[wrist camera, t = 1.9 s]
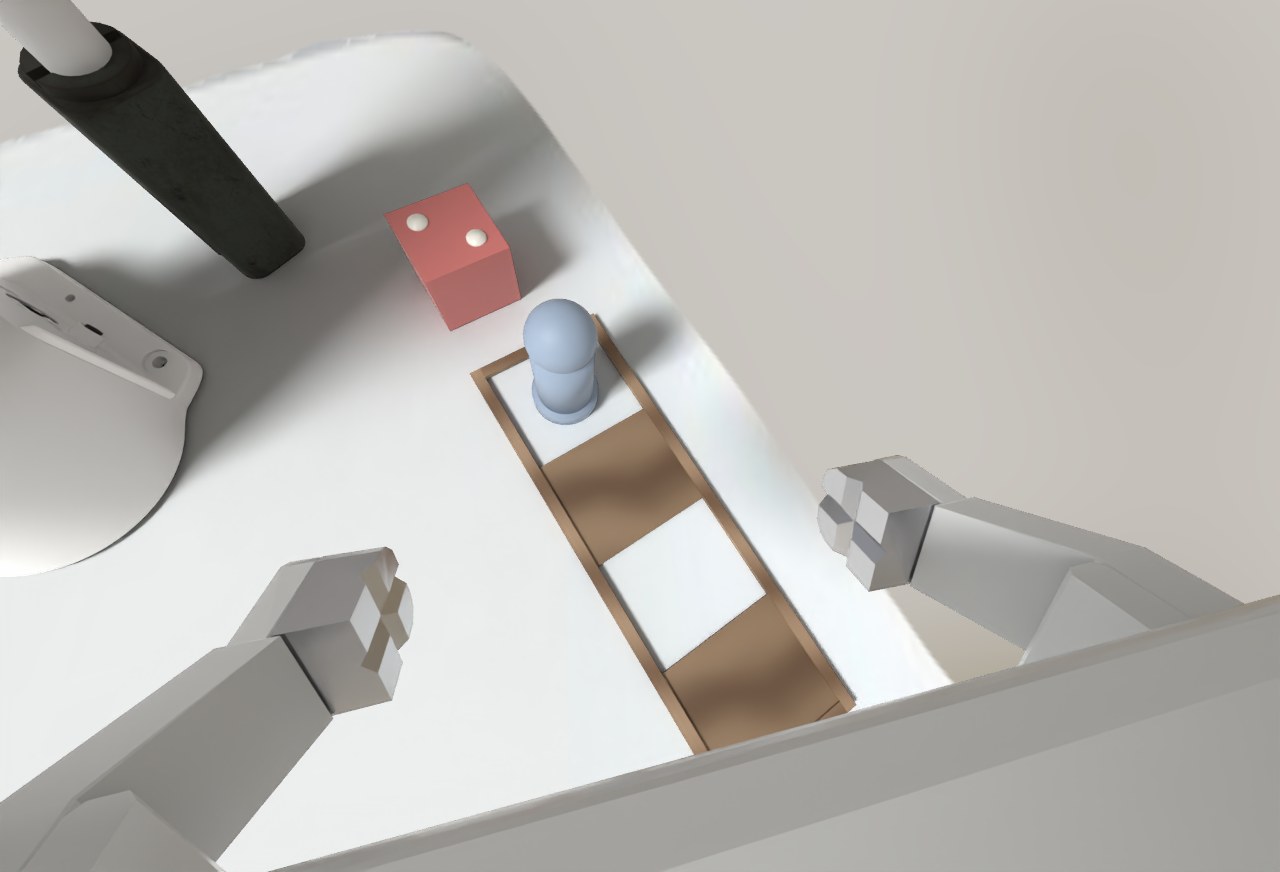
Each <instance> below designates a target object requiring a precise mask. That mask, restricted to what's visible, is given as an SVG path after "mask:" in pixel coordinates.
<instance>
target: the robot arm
mask: <svg viewBox="0 0 1280 872" xmlns="http://www.w3.org/2000/svg"><path fill="white" fill-rule="evenodd" d="M165 362H167V363H166V365H165V366H163V367H162V365H163V364H164V363H165ZM202 375H203V371H202V368H201V366H200V365H199V364H198V363H197V362H196V361H195V360H193V359H192V358H190V357H189V356H187V355H186V354H184V353H183V352H181V351H180V350H178V349H177V348H175V347H174V346H172V345H171V344H169V343H168V342H166V341H165V340H163V339H162V338H160V337H159V336H157V335H156V334H154V333H153V332H152V331H150V330H149V329H147V328H146V327H144V326H143V325H141V324H140V323H138V322H137V321H135V320H134V319H132V318H131V317H129V316H128V315H126V314H125V313H123V312H122V311H120V310H119V309H117V308H116V307H114V306H113V305H111V304H110V303H108V302H107V301H105V300H104V299H102V298H101V297H99V296H98V295H96V294H95V293H93V292H92V291H90V290H89V289H87V288H86V287H84V286H83V285H82V284H80V283H79V282H77V281H76V280H74V279H73V278H71V277H70V276H68V275H67V274H65V273H64V272H62V271H61V270H59V269H57V268H56V267H54V266H52V265H50V264H48V263H46V262H44V261H42V260H40V259H38V258H35V257H31V256H26V257H15V258H7V259H1V260H0V577H14V576H26V575H33V574H39V573H43V572H48V571H52V570H55V569H59V568H62V567H65V566H68V565H70V564H73V563H75V562H78V561H80V560H83V559H85V558H87V557H89V556H91V555H93V554H95V553H97V552H98V551H100V550H102V549H104V548H105V547H107V546H109V545H110V544H112V543H113V542H115V541H116V540H118V539H119V538H121V537H122V536H123V535H124V534H126V533H127V532H128V531H130V530H131V529H132V528H133V527H134V526H135V525H137V524H138V523H139V522H140V521H141V520H142V519H143V518H144V517H145V516H146V515H147V514H148V513H149V512H150V510H151V509H152V508H153V507H154V506H155V505H156V503H157V502H158V501H159V499H160V498H161V497H162V495H163V494H164V492H165V491H166V489H167V488H168V486H169V484H170V482H171V481H172V479H173V477H174V475H175V472H176V470H177V468H178V465H179V462H180V459H181V455H182V451H183V447H184V439H185V418H186V412H187V408H188V406H189V404H190V403H191V401H192V399H193V397H194V395H195V393H196V391H197V389H198V387H199V385H200V382H201V380H202ZM822 488H823V489H824V491H825V492H826V493H827V496H826V497H825V498H824V499H823V501H822V502H821V503H820V504H819V509H818V517H817V519H818V524H819V528H820V532H821V534H822V536H823V538H824V540H825V542H826V543H827V544H828V545H829V547H830V548H831V549H832V550H833V551H835V552H837V553H840V554H842V555H844V556H846V557H847V564H846V566H847V568H848V569H849V570H850V571H851V572H852V573H853V574H854V576H855V577H856V578H857V579H858V580H859V581H860V582H861V584H862V585H863V586H864V587H865V588H866V589H867V590H868V592H870V591H875V590H880V589H885V588H889V587H895V586H900V585H905V584H910V583H911V584H910V586H911V587H913V588H915V589H917V590H918V591H920V592H922V593H924V594H925V595H927V596H929V597H931V598H933V599H934V600H936V601H938V602H940V603H942V604H943V605H945V606H947V607H949V608H950V609H952V610H954V611H956V612H958V613H959V614H961V615H963V616H965V617H967V618H968V619H970V620H972V621H974V622H975V623H977V624H979V625H981V626H983V627H984V628H986V629H988V630H990V631H992V632H993V633H995V634H997V635H999V636H1000V637H1002V638H1004V639H1006V640H1008V641H1010V642H1011V643H1013V644H1015V645H1017V646H1018V647H1020V648H1022V649H1024V650H1025V651H1026V652H1025V654H1024V656H1023V657H1022V659H1021V661H1020V663H1019V665H1018V666H1017V667H1013V668H1010V669H1006V670H1002V671H999V672H995V673H991V674H988V675H984V676H980V677H977V678H973V679H970V680H966V681H962V682H959V683H955V684H951V685H947V686H944V687H940V688H936V689H933V690H929V691H926V692H922V693H918V694H915V695H911V696H907V697H904V698H900V699H896V700H893V701H889V702H885V703H882V704H878V705H874V706H871V707H867V708H864V709H860V710H856V711H853V712H849V713H845V714H842V715H838V716H834V717H831V718H827V719H823V720H820V721H816V722H812V723H809V724H805V725H802V726H798V727H794V728H791V729H787V730H783V731H780V732H776V733H772V734H769V735H765V736H761V737H758V738H754V739H750V740H747V741H743V742H740V743H736V744H732V745H729V746H725V747H721V748H718V749H714V750H710V751H707V752H703V753H700V754H696V755H692V756H689V757H685V758H681V759H678V760H674V761H670V762H667V763H663V764H660V765H656V766H652V767H649V768H645V769H641V770H638V771H634V772H630V773H627V774H623V775H620V776H616V777H612V778H609V779H605V780H601V781H598V782H594V783H590V784H587V785H583V786H580V787H576V788H572V789H569V790H565V791H561V792H558V793H554V794H550V795H547V796H543V797H539V798H536V799H532V800H528V801H525V802H521V803H517V804H514V805H510V806H506V807H503V808H499V809H496V810H492V811H488V812H485V813H481V814H477V815H474V816H470V817H466V818H463V819H459V820H455V821H452V822H448V823H444V824H441V825H437V826H433V827H430V828H426V829H422V830H419V831H415V832H412V833H408V834H404V835H401V836H397V837H393V838H390V839H386V840H382V841H379V842H375V843H371V844H368V845H364V846H360V847H357V848H353V849H349V850H346V851H342V852H338V853H335V854H331V855H327V856H324V857H320V858H317V859H313V860H309V861H306V862H302V863H298V864H295V865H291V866H287V867H284V868H280V869H276V870H273V871H269V872H1280V595H1276V596H1272V597H1269V598H1265V599H1261V600H1258V601H1254V602H1250V603H1247V604H1244V603H1242V602H1240V601H1239V600H1237V599H1235V598H1233V597H1231V596H1230V595H1228V594H1226V593H1224V592H1223V591H1221V590H1219V589H1217V588H1216V587H1214V586H1212V585H1210V584H1209V583H1207V582H1205V581H1203V580H1202V579H1200V578H1198V577H1196V576H1194V575H1193V574H1191V573H1189V572H1187V571H1186V570H1184V569H1182V568H1180V567H1179V566H1177V565H1175V564H1173V563H1172V562H1170V561H1168V560H1166V559H1165V558H1163V557H1161V556H1159V555H1158V554H1155V553H1154V552H1152V551H1150V550H1149V549H1147V548H1145V547H1141V546H1138V545H1134V544H1131V543H1128V542H1124V541H1121V540H1117V539H1114V538H1111V537H1107V536H1104V535H1101V534H1097V533H1094V532H1090V531H1087V530H1084V529H1080V528H1077V527H1073V526H1070V525H1067V524H1063V523H1060V522H1056V521H1053V520H1050V519H1046V518H1043V517H1039V516H1036V515H1033V514H1029V513H1026V512H1022V511H1019V510H1015V509H1012V508H1009V507H1005V506H1002V505H999V504H995V503H991V502H988V501H985V500H982V499H978V498H970V499H967V498H965V497H964V496H963V495H961V494H960V493H958V492H957V491H955V490H954V489H952V488H951V487H949V486H948V485H946V484H945V483H943V482H942V481H940V480H939V479H938V478H936V477H935V476H933V475H932V474H930V473H929V472H927V471H926V470H924V469H923V468H921V467H920V466H918V465H917V464H915V463H914V462H913V461H911V460H910V459H908V458H907V457H903V456H899V455H895V456H891V457H886V458H881V459H876V460H874V461H870V462H865V463H859V464H854V465H848V466H843V467H837V468H832V469H828V470H827V472H826V474H825V475H824V478H823V483H822ZM398 565H399V564H398V562H397V560H396V557H395V555H394V553H393V551H392V550H391V549H389V548H387V547H381V548H374V549H368V550H361V551H355V552H349V553H342V554H336V555H329V556H323V557H321V558H312V559H306V560H300V561H294V562H289V563H288V564H286V565H284V566H282V567H280V569H279V570H278V572H277V573H276V575H275V576H274V578H273V579H272V580H271V582H270V583H269V585H268V586H267V588H266V589H265V591H264V592H263V594H262V595H261V597H260V598H259V599H258V601H257V602H256V604H255V605H254V607H253V608H252V610H251V611H250V613H249V614H248V616H247V617H246V618H245V620H244V621H243V623H242V624H241V626H240V627H239V629H238V630H237V632H236V633H235V635H234V636H233V638H232V639H231V640H230V642H229V643H228V645H227V646H225V647H221V648H216V649H213V650H212V651H211V652H209V653H208V654H206V655H205V656H204V657H202V658H201V659H199V660H198V661H197V662H195V663H194V664H192V665H191V666H190V667H188V668H187V669H186V670H184V671H183V672H181V673H180V674H179V675H177V676H176V677H174V678H173V679H172V680H170V681H169V682H167V683H166V684H165V685H163V686H162V687H160V688H159V689H158V690H156V691H155V692H154V693H152V694H151V695H149V696H148V697H147V698H145V699H144V700H142V701H141V702H140V703H138V704H137V705H135V706H134V707H133V708H131V709H130V710H128V711H127V712H126V713H124V714H123V715H122V716H120V717H119V718H117V719H116V720H115V721H113V722H112V723H110V724H109V725H108V726H106V727H105V728H103V729H102V730H101V731H99V732H98V733H96V734H95V735H94V736H92V737H91V738H90V739H88V740H87V741H85V742H84V743H83V744H81V745H80V746H78V747H77V748H76V749H74V750H73V751H71V752H70V753H69V754H67V755H66V756H64V757H63V758H62V759H60V760H59V761H58V762H56V763H55V764H53V765H52V766H51V767H49V768H48V769H46V770H45V771H44V772H42V773H41V774H39V775H38V776H37V777H35V778H34V779H32V780H31V781H30V782H28V783H27V784H26V785H24V786H23V787H21V788H20V789H19V790H17V791H16V792H14V793H13V794H12V795H10V796H9V797H7V798H6V799H5V800H3V801H2V802H0V872H226V871H225V870H223V869H222V868H221V867H220V866H219V865H218V864H216V863H215V862H216V861H217V860H218V858H219V857H220V856H221V855H222V853H223V852H224V851H225V850H226V849H227V847H228V846H229V845H230V844H231V843H232V841H233V840H234V839H235V838H236V836H237V835H238V834H239V833H240V832H241V830H242V829H243V828H244V827H245V825H246V824H247V823H248V822H249V821H250V819H251V818H252V817H253V816H254V814H255V813H256V812H257V811H258V810H259V808H260V807H261V806H262V805H263V804H264V802H265V801H266V800H267V799H268V797H269V796H270V795H271V794H272V793H273V791H274V790H275V789H276V788H277V786H278V785H279V784H280V783H281V782H282V780H283V779H284V778H285V777H286V776H287V774H288V773H289V772H290V771H291V769H292V768H293V767H294V766H295V765H296V763H297V762H298V761H299V760H300V758H301V757H302V756H303V755H304V754H305V752H306V751H307V750H308V749H309V747H310V746H311V745H312V744H313V743H314V741H315V740H316V739H317V738H318V737H319V735H320V734H321V733H322V732H323V730H324V729H325V728H326V727H327V726H328V724H329V723H330V722H331V721H332V719H333V717H332V716H333V715H337V714H341V713H344V712H348V711H352V710H356V709H360V708H364V707H368V706H372V705H376V704H380V703H384V702H387V701H391V700H392V698H393V695H394V691H395V688H396V684H397V681H398V677H399V673H400V670H401V666H402V663H403V662H402V660H401V657H400V655H399V653H398V650H399V649H400V648H401V647H402V646H403V644H404V643H405V642H406V641H407V640H408V639H409V637H410V633H411V629H412V625H413V603H412V598H411V593H410V591H409V588H408V586H407V583H405V582H403V581H402V580H400V579H398V578H396V577H395V574H396V571H397V568H398Z"/></svg>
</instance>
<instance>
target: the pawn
mask: <svg viewBox="0 0 1280 872" xmlns="http://www.w3.org/2000/svg"><path fill="white" fill-rule="evenodd" d="M523 340H524V345H525V348H526V351H527V353H528V355H529V358H530V362H531V367H532V371H533V375H534V380H533V383H532V395H533V399H534V402H535V405H536V408H537V410H538V411H539V412H540V414H541V415H542V416H543V417H545V418H546V419H547V420H549V421H551V422H553V423H556V424H561V425H570V424H575V423H578V422H580V421H582V420H584V419H586V418H587V417H588V416H589V415H590V414H591V413H592V411H593V410H594V408H595V406H596V403H597V398H598V384H597V380H596V377H595V376H594V361H595V350H596V346H597V340H598V336H597V329H596V325H595V323H594V320H593V319H592V317H591V315H590V314H589V313H588V312H587V311H586V310H585V309H584V308H583V307H582V306H580V305H579V304H577V303H575V302H573V301H570V300H566V299H552V300H548V301H545V302H543V303H541V304H540V305H538V306H537V307H536V308H535V309H533V310H532V312H531V313H530V314H529V316H528V318H527V320H526V322H525V325H524V331H523Z"/></svg>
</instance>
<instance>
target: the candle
mask: <svg viewBox="0 0 1280 872" xmlns="http://www.w3.org/2000/svg"><path fill="white" fill-rule="evenodd" d="M0 25H1V26H2V27H3V28H4V29H5V30H6V31H8V33H10V35H12V36H13V37H14V38H15V39H16V40H17V41H18V42H19V43H20V44H21V45H22V46H23V49H22V51H21V52H20V65H19V67H18V74H19V77H20V78H21V79H22V80H23V82H24V83H25V84H27V85H28V86H29V87H30V88H31V89H32V90H33V91H35V92H36V93H37V94H38V95H39V96H40V97H41V98H43V100H45V101H46V102H47V103H48V104H49V105H50V106H51V107H53V108H54V109H55V110H56V111H57V112H58V113H59V114H60V115H62V116H63V117H64V118H65V119H66V120H67V121H68V122H69V123H71V124H72V125H73V126H74V127H75V128H76V129H77V130H79V131H80V132H81V133H82V134H83V135H84V136H85V137H86V138H88V139H89V140H90V141H91V142H92V143H93V144H94V145H95V146H97V147H98V148H99V149H100V150H101V151H102V152H103V153H105V154H106V155H107V156H108V157H109V158H110V159H111V160H112V161H114V162H115V163H116V164H117V165H118V166H119V167H120V168H121V169H123V170H124V171H125V172H126V173H127V174H128V175H129V176H131V177H132V178H133V179H134V180H135V181H136V182H137V183H138V184H140V185H141V186H142V187H143V188H144V189H145V190H146V191H148V192H149V193H150V194H151V195H152V196H153V197H154V198H155V199H157V200H158V201H159V202H160V203H161V204H162V205H163V206H164V207H166V208H167V209H168V210H169V211H170V212H171V213H172V214H174V215H175V216H176V217H177V218H178V219H179V220H180V221H181V222H183V223H184V224H185V225H186V226H187V227H188V228H189V229H190V230H192V231H193V232H194V233H195V234H196V235H197V236H198V237H200V238H201V239H202V240H203V241H204V242H205V243H206V244H207V245H209V246H210V247H211V248H212V249H213V250H214V251H215V252H216V253H218V254H219V255H223V256H224V257H225V258H226V259H227V260H228V261H229V262H230V263H232V264H233V265H234V266H235V267H236V268H237V269H238V270H239V271H241V272H242V273H243V274H244V275H245V276H247V277H250V278H256V279H257V278H263V277H266V276H267V275H269V274H271V273H272V272H273V271H275V270H276V269H277V268H279V267H280V266H281V265H283V264H284V263H285V262H287V261H288V260H289V259H291V258H292V257H293V256H295V255H296V254H297V253H299V252H300V251H301V250H302V249H303V247H304V245H305V239H304V237H303V235H302V234H301V233H300V232H299V231H298V229H297V228H296V227H295V226H294V224H293V223H292V222H291V221H290V220H289V218H288V217H287V216H286V215H285V214H284V212H283V211H282V210H281V209H280V207H279V206H278V205H277V204H276V203H275V201H274V200H273V199H272V198H271V196H270V195H269V194H268V193H267V192H266V190H265V189H264V188H263V187H262V185H261V184H260V183H259V182H258V181H257V179H256V178H255V177H254V176H253V175H252V173H251V172H250V171H249V170H248V168H247V167H246V166H245V165H244V164H243V162H242V161H241V160H240V159H239V157H238V156H237V155H236V154H235V153H234V151H233V150H232V149H231V148H230V146H229V145H228V144H227V143H226V142H225V140H224V139H223V138H222V137H221V136H220V134H219V133H218V132H217V131H216V129H215V128H214V127H213V126H212V125H211V123H210V122H209V121H208V120H207V118H206V117H205V116H204V115H203V114H202V112H201V111H200V110H199V109H198V107H197V106H196V105H195V104H194V103H193V101H192V100H191V99H190V98H189V97H188V95H187V94H186V93H185V92H184V90H183V89H182V88H181V87H180V86H179V84H178V83H177V82H176V81H175V79H174V78H173V77H172V76H171V75H170V74H169V72H168V71H167V70H166V69H165V67H164V66H163V65H162V64H161V63H160V62H159V61H158V60H157V59H155V58H154V57H153V56H152V55H150V54H149V53H148V52H146V51H145V50H143V49H142V48H141V47H140V46H138V45H137V44H136V43H135V42H133V41H132V40H131V39H129V38H128V37H127V36H125V35H124V34H123V33H121V32H120V31H118V30H116V29H115V28H113V27H111V26H108V25H105V24H101V23H96V22H89V21H88V20H87V19H86V17H85V16H84V15H83V14H82V13H81V12H80V11H79V9H78V8H77V7H76V6H75V5H74V4H73V3H72V1H71V0H0Z"/></svg>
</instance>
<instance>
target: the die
mask: <svg viewBox="0 0 1280 872" xmlns="http://www.w3.org/2000/svg"><path fill="white" fill-rule="evenodd" d="M384 216H385V217H386V219H387V221H388V223H389V225H390V227H391V228H392V230H393V232H394V234H395V236H396V238H397V239H398V241H399V243H400V245H401V247H402V249H403V250H404V252H405V254H406V256H407V258H408V260H409V261H410V263H411V265H412V267H413V269H414V270H415V272H416V274H417V276H418V277H419V279H420V281H421V282H422V284H423V286H424V287H425V289H426V291H427V293H428V294H429V296H430V298H431V299H432V301H433V303H434V304H435V306H436V308H437V309H438V311H439V313H440V314H441V316H442V318H443V320H444V321H445V323H446V325H447V326H448V328H449V330H450V331H452V330H454V329H456V328H458V327H460V326H463V325H465V324H467V323H469V322H471V321H474V320H476V319H478V318H480V317H482V316H485V315H487V314H489V313H491V312H493V311H496V310H498V309H500V308H502V307H504V306H507V305H509V304H511V303H513V302H515V301H518V300H520V299H521V297H520V292H519V287H518V283H517V278H516V274H515V269H514V264H513V260H512V255H511V251H510V247H509V245H508V244H507V242H506V241H505V239H504V238H503V236H502V235H501V233H500V232H499V230H498V229H497V227H496V226H495V224H494V222H493V221H492V219H491V218H490V216H489V215H488V213H487V212H486V210H485V209H484V207H483V206H482V204H481V202H480V201H479V199H478V198H477V196H476V195H475V193H474V192H473V190H472V189H471V187H470V186H469V184H468V183H467V184H465V185H462V186H459V187H457V188H454V189H451V190H449V191H446V192H443V193H440V194H438V195H435V196H432V197H430V198H427V199H424V200H421V201H419V202H416V203H413V204H411V205H408V206H405V207H403V208H400V209H397V210H394V211H392V212H389V213H386V214H384Z"/></svg>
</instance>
